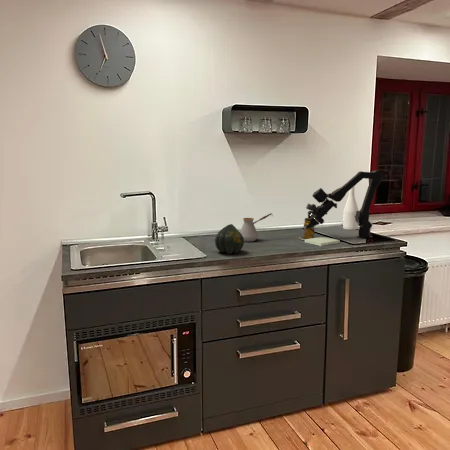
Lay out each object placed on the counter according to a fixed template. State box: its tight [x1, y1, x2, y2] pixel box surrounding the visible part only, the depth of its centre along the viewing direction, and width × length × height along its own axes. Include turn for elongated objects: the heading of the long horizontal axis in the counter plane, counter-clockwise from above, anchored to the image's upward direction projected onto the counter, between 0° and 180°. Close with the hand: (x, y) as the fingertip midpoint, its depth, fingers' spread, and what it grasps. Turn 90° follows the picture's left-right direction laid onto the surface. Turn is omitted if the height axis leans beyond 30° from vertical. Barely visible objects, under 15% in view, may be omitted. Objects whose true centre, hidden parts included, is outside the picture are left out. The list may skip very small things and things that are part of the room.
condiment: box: [298, 217, 315, 241], centre depth 256 cm, size 7×8×12 cm
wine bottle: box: [342, 186, 360, 231], centre depth 284 cm, size 10×10×30 cm
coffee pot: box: [239, 212, 274, 243], centre depth 255 cm, size 21×12×15 cm, turn 112°
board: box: [304, 236, 341, 247], centre depth 245 cm, size 14×13×2 cm
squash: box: [214, 223, 245, 255], centre depth 225 cm, size 14×15×15 cm
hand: (305, 227), depth 256 cm, fingers closed on condiment, 6 cm apart
